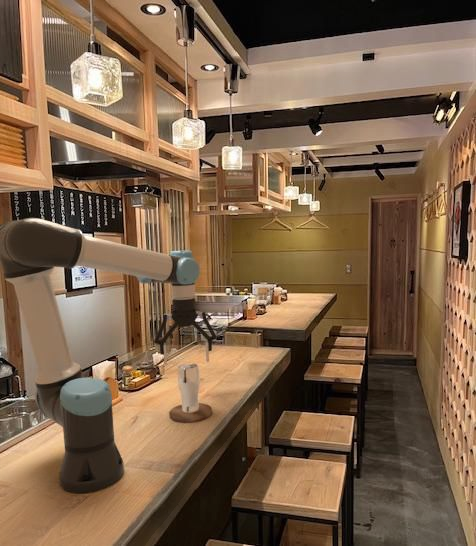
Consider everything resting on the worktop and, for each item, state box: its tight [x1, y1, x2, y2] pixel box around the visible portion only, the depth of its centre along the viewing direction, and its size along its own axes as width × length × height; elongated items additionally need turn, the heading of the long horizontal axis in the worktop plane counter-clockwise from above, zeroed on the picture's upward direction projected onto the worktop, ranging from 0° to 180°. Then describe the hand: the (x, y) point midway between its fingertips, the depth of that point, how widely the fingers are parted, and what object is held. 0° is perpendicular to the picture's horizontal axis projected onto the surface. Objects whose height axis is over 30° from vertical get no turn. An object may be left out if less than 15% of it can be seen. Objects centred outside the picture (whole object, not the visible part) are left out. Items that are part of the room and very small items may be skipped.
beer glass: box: [177, 362, 200, 414], centre depth 147 cm, size 7×7×15 cm
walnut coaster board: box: [168, 402, 213, 424], centre depth 147 cm, size 14×14×1 cm
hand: (186, 362), depth 146 cm, fingers open, 13 cm apart
